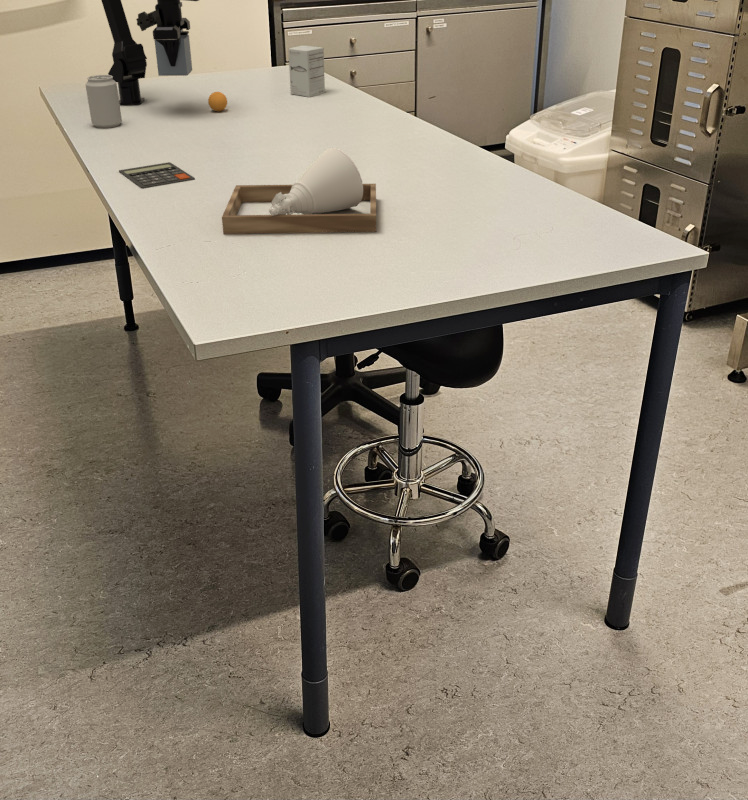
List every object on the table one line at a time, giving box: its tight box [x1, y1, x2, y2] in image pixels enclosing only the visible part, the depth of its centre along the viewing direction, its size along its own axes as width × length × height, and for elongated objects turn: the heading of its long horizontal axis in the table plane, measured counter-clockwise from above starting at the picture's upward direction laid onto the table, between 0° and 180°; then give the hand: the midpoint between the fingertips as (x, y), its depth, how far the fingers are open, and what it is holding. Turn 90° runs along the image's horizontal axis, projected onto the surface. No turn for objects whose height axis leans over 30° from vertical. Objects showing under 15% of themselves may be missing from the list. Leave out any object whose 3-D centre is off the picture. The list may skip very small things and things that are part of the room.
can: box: [85, 74, 123, 129], centre depth 232 cm, size 8×8×12 cm
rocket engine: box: [268, 147, 364, 216], centre depth 167 cm, size 12×12×18 cm
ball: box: [207, 91, 228, 112], centre depth 246 cm, size 5×5×5 cm
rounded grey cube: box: [153, 34, 193, 77], centre depth 240 cm, size 8×8×9 cm
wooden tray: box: [221, 183, 377, 235], centre depth 170 cm, size 19×27×3 cm
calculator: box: [118, 162, 196, 189], centre depth 195 cm, size 12×1×15 cm
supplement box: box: [288, 44, 326, 98], centre depth 262 cm, size 7×7×13 cm
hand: (175, 63), depth 241 cm, fingers closed on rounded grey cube, 7 cm apart
